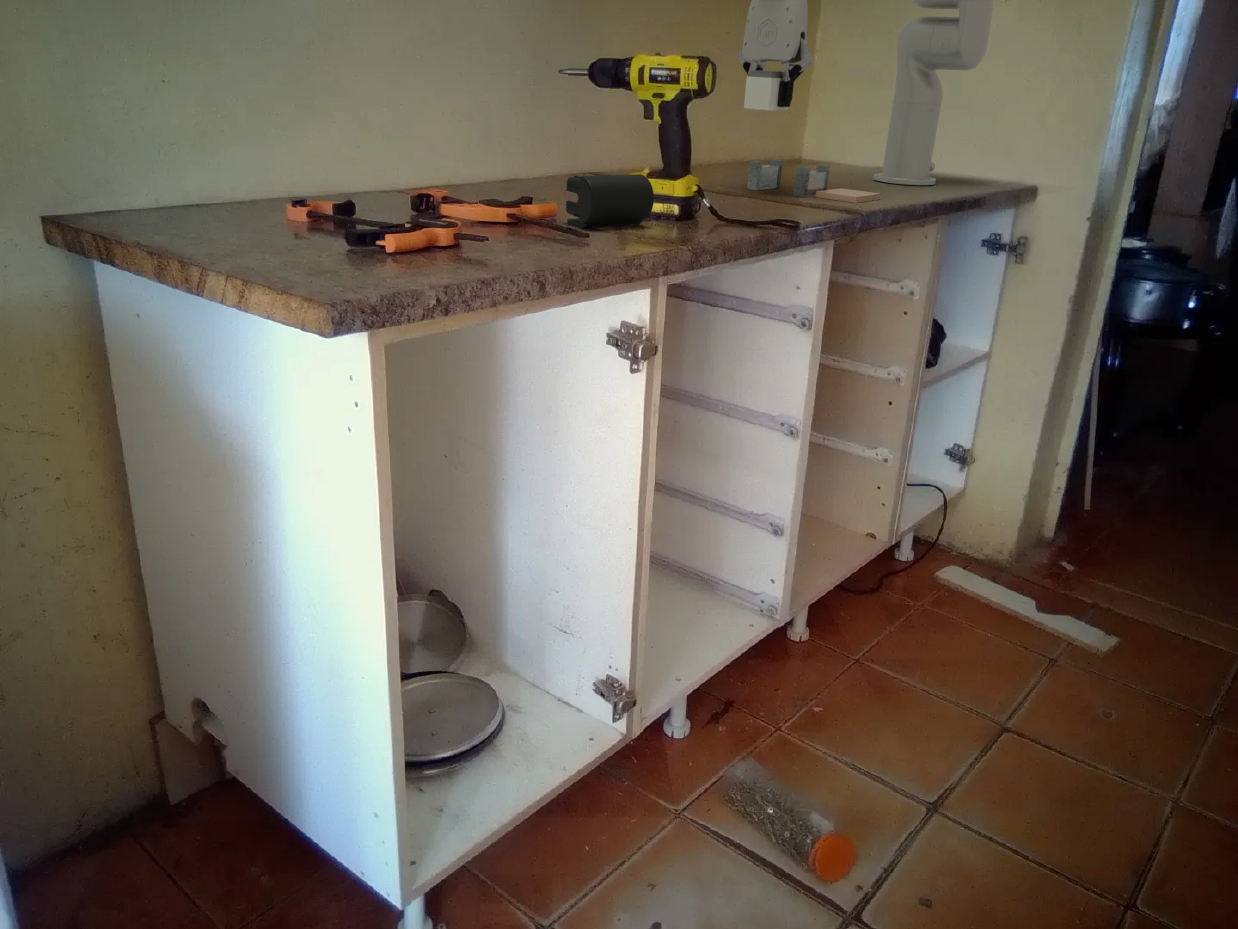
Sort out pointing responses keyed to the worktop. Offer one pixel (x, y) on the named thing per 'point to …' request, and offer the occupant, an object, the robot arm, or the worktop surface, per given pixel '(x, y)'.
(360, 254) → the worktop surface
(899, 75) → the robot arm
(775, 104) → the white box with lid
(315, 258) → the worktop surface
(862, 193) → the pad
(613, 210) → the end cap
